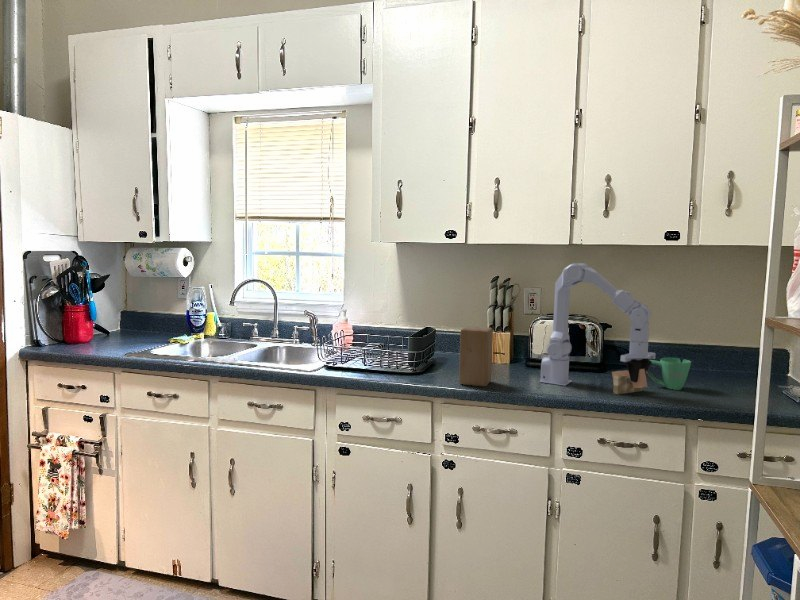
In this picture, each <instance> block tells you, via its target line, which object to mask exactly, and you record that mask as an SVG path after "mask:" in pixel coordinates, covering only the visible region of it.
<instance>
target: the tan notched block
mask: <svg viewBox="0 0 800 600" xmlns="http://www.w3.org/2000/svg"><path fill="white" fill-rule="evenodd" d="M612 389H613V392H612V394H615V395H623V394H629V393H630V394H631V393H636V392H643V388H633V383H632V381H631V379H630V378H629V382H628V379H627V376H626V375H616V376H614V383H613V387H612Z"/></svg>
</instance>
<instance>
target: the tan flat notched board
mask: <svg viewBox="0 0 800 600" xmlns="http://www.w3.org/2000/svg"><path fill="white" fill-rule="evenodd" d="M611 374H612V375H611V376H612V382H613V384H614V376H616V375H626V376H627V380H629V379H630V375H629V371H628V369H627V370H626V369H625V370H616V371H612V372H611ZM632 383H633V388H642V389H643V388H648V387H649V386H648V382H647V377H646V374H645V369H639V374H638V380H637V382H632Z"/></svg>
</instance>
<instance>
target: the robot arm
mask: <svg viewBox="0 0 800 600" xmlns="http://www.w3.org/2000/svg"><path fill="white" fill-rule="evenodd" d="M561 272H562V273H561V274H560V275H559V276H558V278H557V279H556V282H555V284H554V300H553V301H554V302H553V303H554V304H553V321H552V322H553V324H552V333H551V335H550V337H549V343H548V344H547V346H546V353H547V355H548V356H544V357H542V359H541V363H540V380H539V382H540V383H545V384H551V385H558V386H565V387H566V386H567V385H569V384H570V383H571V382H572V380H571V379H569V371H570V370H569V369H570V367H569V365H570V357H569V355H570V354H571V352H572V349H573V347H572V344H571V342H570V334H569V318H570V317H569V312H570V296H571V289H572V288H573V287H574V286H576V285H578V283H581V282H582V283H590V284H593V285H594V286H596V287H597V288H598V289H599V290H601V291H602V292H604V293H605V294H606V295H608V296H609V297H610V298H611V303H612V304H613V305H615V307H616V308H618V309H619V310H620V311H622V312H623V313H624V314H625V315H628V318H629V320H630V328H629V329H630V332H629V333H630V334H629V347H628V348H629V353H625V354H621V355H620V360H619V361H620V362H622V363H624V364H625V366H626V368H627V370H628V371H629V375H630V378H629V380H630V379H631V381H632V382H637V380H638V374H639V369H645V375H646V374H647V373H646V372H647V370H649V369H648V368H650V366H651V365H653V364H652V361H650V360H655V359H656V352H650V351H649V338H650V328H649V327H650V321H649V320H650V319H651V317H652V311H651V309H650V308H649V307H648V306H647V304H642V303H643V302H642V301H640V300H638V299H636V298H635V297H633V295H631V291H629V290H627V291H626V290H624V289H618V288H617V287H615V286H614V285H613V284H612V283H610V282H609V281H608V280H607V279H606V278H605V277H604V276H602V275H601V274H600V273H599V272H597V270H596V269H594V268H592V266H591V267H590V266H589V265H588V264H586V263H584V262H581V263H580V262H579V263H571V264H569V265H567V266H566V267H564V268H563V269H562V271H561Z"/></svg>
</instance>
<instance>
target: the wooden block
mask: <svg viewBox="0 0 800 600" xmlns="http://www.w3.org/2000/svg"><path fill="white" fill-rule="evenodd" d="M493 331H494V330H493V328H492V327H487V326H471V325H467V326H465V327H464V328H462V329H460V332H459V333H460V334H459V366H458V367H459V368H458V369H459V370H458V374H459V375H458V382H459V384H460V385H462V384H463V385H462V386H471V385H472V387H480V388H481V387H482V388H484V387H487V386H488V385H489V383H491V381H492V370H493V369H492V368H493V364H492V363H493V336H494V335H493V334H494V332H493Z"/></svg>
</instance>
